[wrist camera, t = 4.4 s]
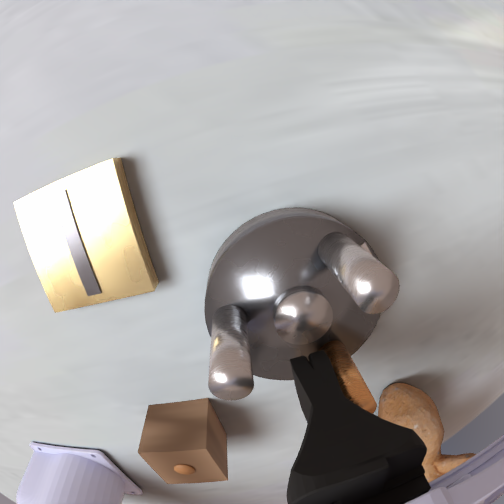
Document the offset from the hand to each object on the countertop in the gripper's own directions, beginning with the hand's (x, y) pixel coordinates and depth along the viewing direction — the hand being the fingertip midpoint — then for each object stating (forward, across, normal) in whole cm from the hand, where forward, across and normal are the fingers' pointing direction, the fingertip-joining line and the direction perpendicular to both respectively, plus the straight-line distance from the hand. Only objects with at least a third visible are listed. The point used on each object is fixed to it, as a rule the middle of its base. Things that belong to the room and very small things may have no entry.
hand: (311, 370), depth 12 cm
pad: (+3, +9, -8) cm, 12 cm away
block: (+3, +8, +5) cm, 10 cm away
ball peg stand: (+3, 0, -3) cm, 4 cm away
